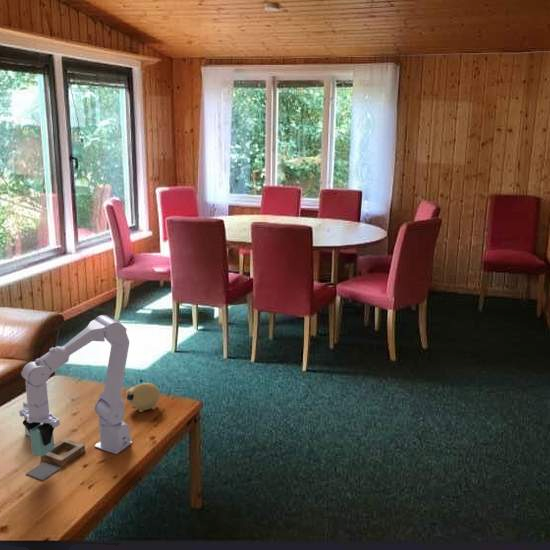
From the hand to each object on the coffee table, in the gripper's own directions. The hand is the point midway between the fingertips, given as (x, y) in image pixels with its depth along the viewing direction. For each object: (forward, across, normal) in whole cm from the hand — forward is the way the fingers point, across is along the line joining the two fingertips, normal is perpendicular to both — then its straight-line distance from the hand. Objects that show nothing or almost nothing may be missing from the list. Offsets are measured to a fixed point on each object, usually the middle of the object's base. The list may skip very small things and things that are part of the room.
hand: (41, 441), depth 179 cm
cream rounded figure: (+10, +2, +45) cm, 46 cm away
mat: (+10, 0, 0) cm, 10 cm away
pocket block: (+10, -1, +9) cm, 14 cm away
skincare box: (+10, -19, +14) cm, 26 cm away
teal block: (+3, 0, 0) cm, 3 cm away
